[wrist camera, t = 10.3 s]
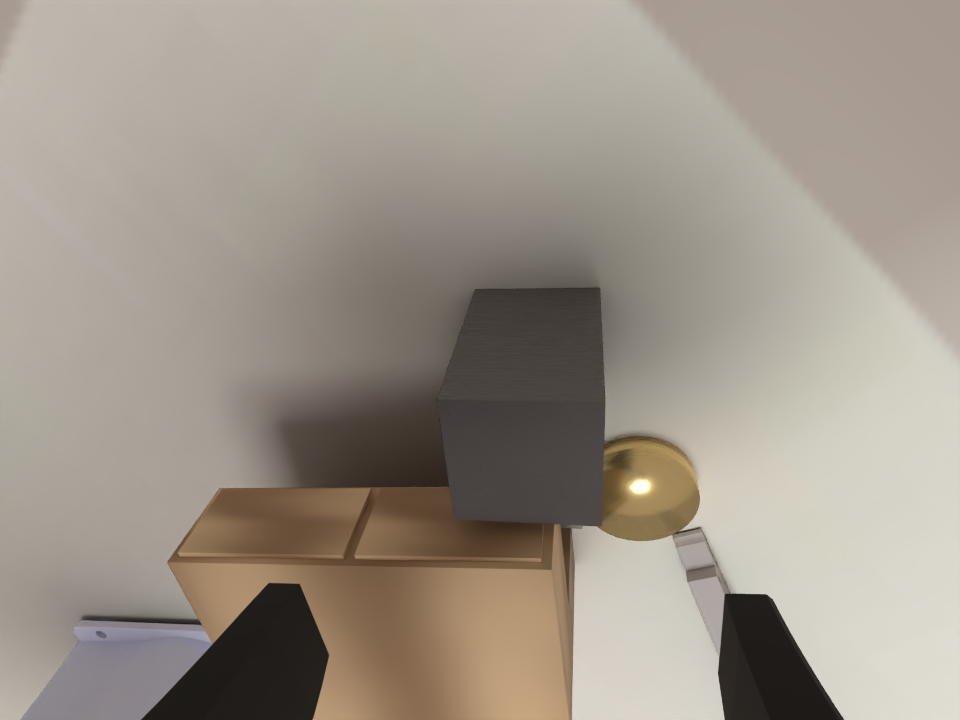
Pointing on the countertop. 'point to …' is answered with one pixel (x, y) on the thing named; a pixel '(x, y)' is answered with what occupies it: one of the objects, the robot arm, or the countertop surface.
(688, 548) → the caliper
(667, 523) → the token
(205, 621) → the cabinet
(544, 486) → the dark grey block
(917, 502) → the countertop surface
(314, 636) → the robot arm
